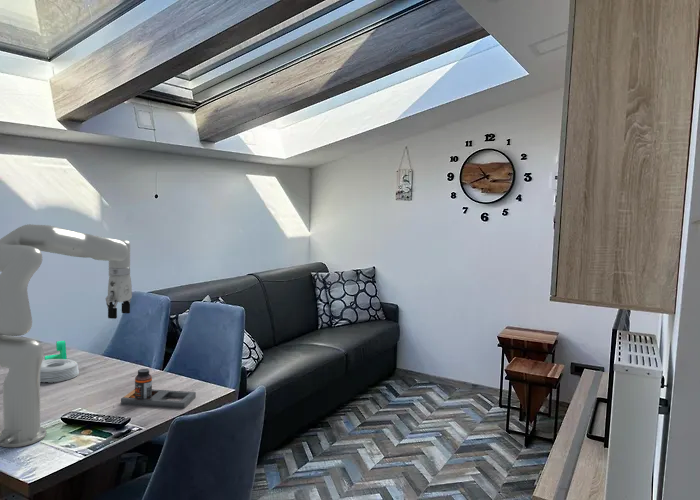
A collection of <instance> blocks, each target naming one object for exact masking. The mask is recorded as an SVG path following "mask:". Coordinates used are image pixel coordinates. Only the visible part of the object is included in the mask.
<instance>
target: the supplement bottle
mask: <svg viewBox="0 0 700 500" xmlns="http://www.w3.org/2000/svg"><path fill="white" fill-rule="evenodd" d="M152 388H153V376H152V374H150V369H149V368H140V369H138V370H137V375H135V378H134V389H135V398H142V399H150V398H151V397H152Z"/></svg>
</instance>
